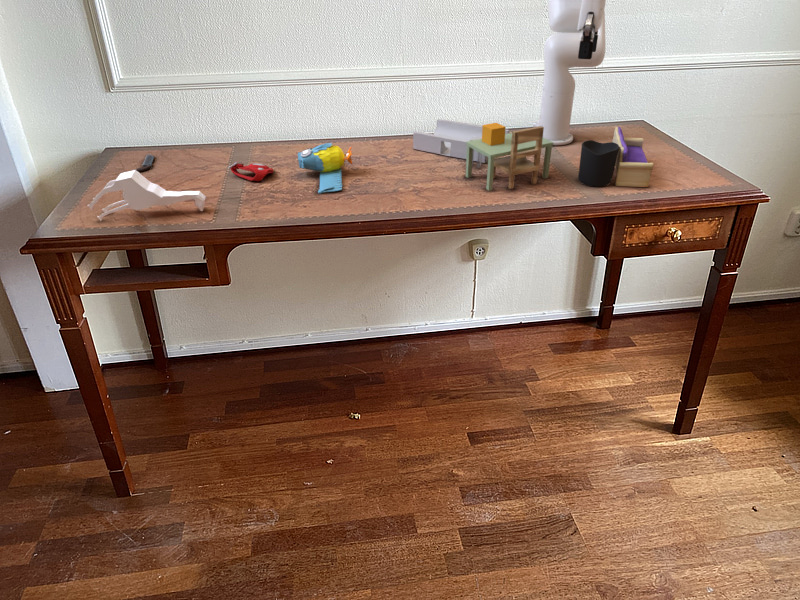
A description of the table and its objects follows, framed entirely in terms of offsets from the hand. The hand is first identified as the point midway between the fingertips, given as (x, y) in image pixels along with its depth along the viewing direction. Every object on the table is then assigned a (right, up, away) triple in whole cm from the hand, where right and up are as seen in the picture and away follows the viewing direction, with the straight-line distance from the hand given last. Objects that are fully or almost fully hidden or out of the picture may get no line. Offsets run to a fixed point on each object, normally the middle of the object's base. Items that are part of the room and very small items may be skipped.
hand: (587, 55), depth 152 cm
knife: (-123, -21, +30) cm, 129 cm away
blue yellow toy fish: (-68, -26, +21) cm, 76 cm away
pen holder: (+6, -30, +12) cm, 33 cm away
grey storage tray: (-30, -16, +34) cm, 48 cm away
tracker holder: (-89, -26, +20) cm, 95 cm away
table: (-17, -27, +16) cm, 36 cm away
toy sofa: (+16, -26, +17) cm, 35 cm away
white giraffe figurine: (-109, -40, 0) cm, 117 cm away
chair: (-16, -29, +14) cm, 36 cm away
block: (-22, -19, +10) cm, 31 cm away
